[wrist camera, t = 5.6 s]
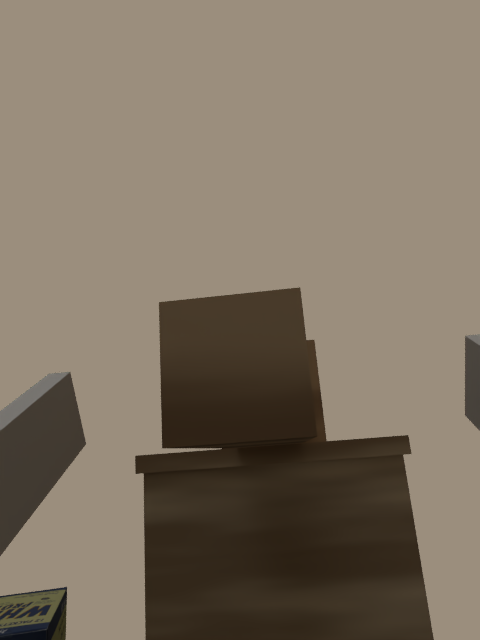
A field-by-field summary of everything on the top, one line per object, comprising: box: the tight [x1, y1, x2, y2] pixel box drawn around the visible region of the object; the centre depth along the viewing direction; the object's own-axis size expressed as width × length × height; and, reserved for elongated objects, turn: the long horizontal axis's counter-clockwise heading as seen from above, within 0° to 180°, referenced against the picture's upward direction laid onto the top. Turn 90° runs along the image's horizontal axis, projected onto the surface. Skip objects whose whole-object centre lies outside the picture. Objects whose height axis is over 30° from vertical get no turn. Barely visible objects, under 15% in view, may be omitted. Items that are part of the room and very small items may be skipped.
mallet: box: [159, 288, 326, 449], centre depth 21 cm, size 24×6×6 cm, turn 174°
